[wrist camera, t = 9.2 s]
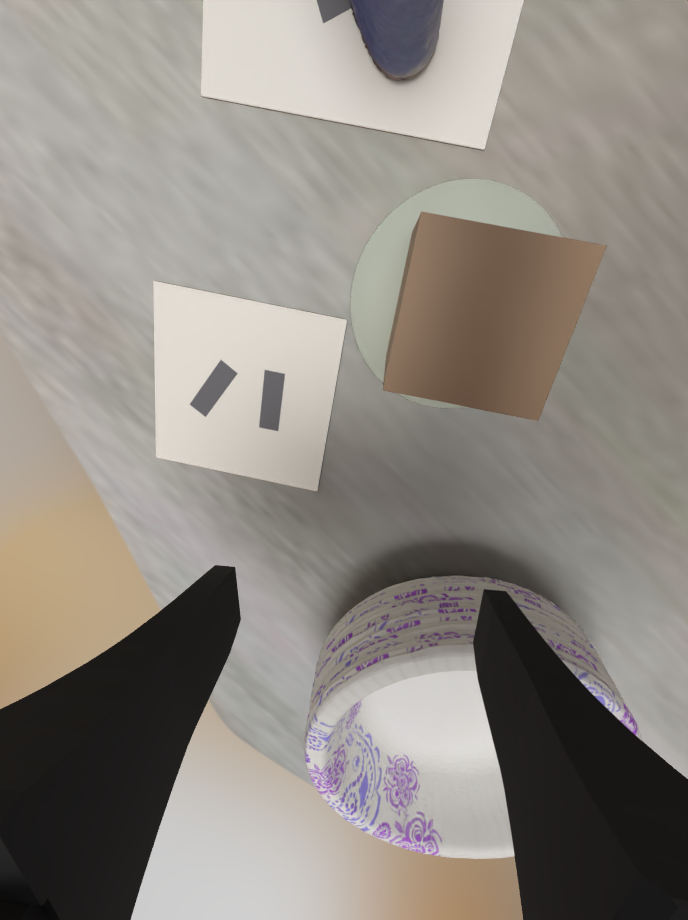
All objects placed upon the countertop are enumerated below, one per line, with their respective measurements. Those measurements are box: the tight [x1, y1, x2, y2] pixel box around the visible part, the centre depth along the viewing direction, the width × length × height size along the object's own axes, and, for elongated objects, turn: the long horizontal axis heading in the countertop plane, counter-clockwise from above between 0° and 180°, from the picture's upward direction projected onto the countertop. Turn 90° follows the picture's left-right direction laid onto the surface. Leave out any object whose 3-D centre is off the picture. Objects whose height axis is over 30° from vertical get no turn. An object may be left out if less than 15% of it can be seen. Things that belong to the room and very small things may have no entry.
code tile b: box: [154, 281, 347, 491], centre depth 21 cm, size 9×9×1 cm
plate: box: [351, 179, 562, 408], centre depth 18 cm, size 9×9×1 cm
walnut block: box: [383, 211, 607, 421], centre depth 15 cm, size 5×5×6 cm
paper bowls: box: [304, 576, 642, 859], centre depth 23 cm, size 15×15×8 cm
